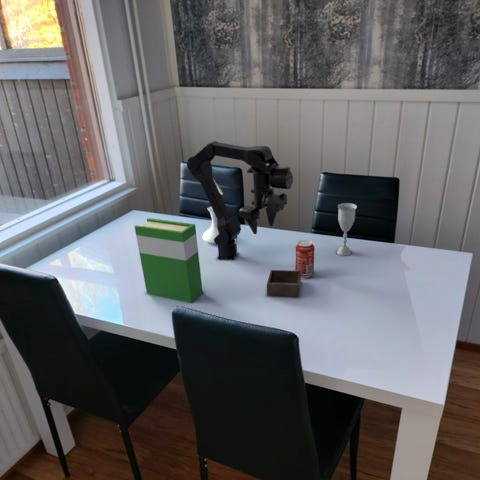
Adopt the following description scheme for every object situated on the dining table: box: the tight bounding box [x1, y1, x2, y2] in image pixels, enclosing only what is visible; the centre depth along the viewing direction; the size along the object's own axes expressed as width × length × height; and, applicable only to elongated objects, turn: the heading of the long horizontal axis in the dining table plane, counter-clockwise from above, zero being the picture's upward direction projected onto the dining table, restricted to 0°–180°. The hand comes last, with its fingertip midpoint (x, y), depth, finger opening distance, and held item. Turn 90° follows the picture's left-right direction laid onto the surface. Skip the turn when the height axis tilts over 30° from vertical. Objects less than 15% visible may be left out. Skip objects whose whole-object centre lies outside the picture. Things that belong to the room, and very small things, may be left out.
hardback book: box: [134, 217, 204, 304], centre depth 151 cm, size 18×7×24 cm, turn 64°
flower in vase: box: [201, 179, 224, 244], centre depth 188 cm, size 13×11×25 cm
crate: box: [266, 269, 302, 298], centre depth 154 cm, size 10×10×4 cm
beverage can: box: [294, 239, 315, 279], centre depth 160 cm, size 6×6×12 cm
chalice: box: [337, 202, 358, 256], centre depth 172 cm, size 7×7×18 cm
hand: (263, 229), depth 166 cm, fingers open, 9 cm apart
